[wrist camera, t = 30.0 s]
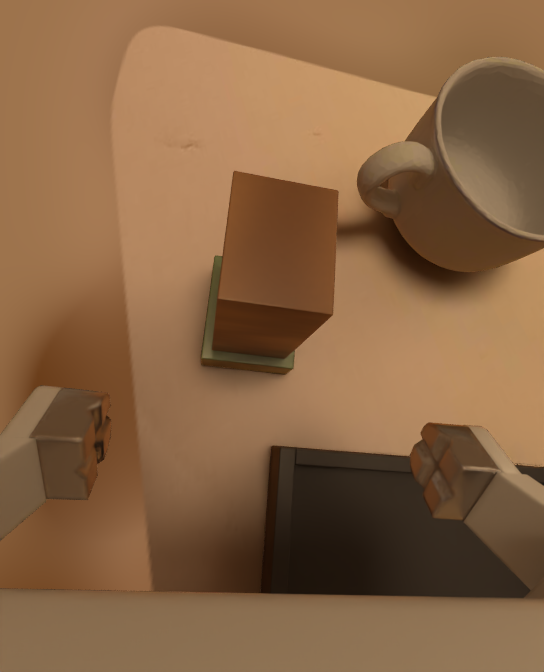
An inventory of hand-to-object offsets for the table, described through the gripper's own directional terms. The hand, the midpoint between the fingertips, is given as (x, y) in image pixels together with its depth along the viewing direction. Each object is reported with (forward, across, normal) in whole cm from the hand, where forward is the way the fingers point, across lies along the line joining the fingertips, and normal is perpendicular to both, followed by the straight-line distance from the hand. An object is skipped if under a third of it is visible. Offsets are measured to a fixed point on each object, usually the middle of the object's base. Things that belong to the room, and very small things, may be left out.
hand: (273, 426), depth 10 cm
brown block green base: (+13, 0, +4) cm, 14 cm away
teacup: (+20, -12, -2) cm, 23 cm away
